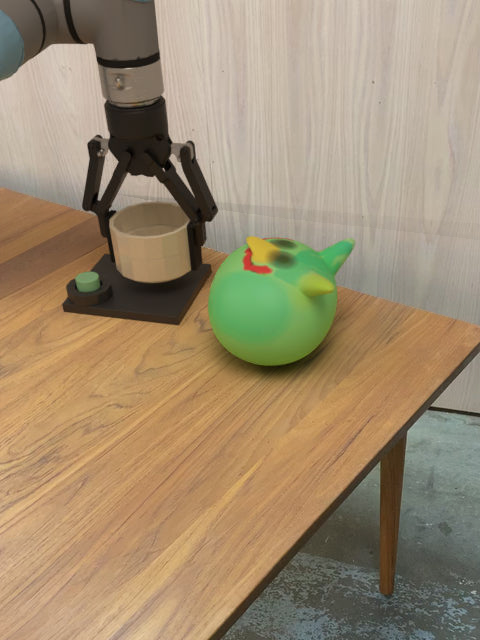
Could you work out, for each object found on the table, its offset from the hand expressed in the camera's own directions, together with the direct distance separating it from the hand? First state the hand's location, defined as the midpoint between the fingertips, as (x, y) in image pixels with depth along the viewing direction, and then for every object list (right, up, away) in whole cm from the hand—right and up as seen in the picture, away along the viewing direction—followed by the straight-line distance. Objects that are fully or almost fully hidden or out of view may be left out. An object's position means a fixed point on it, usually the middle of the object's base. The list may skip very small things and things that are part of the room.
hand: (156, 262), depth 110 cm
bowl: (0, 0, 0) cm, 1 cm away
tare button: (-9, -4, -2) cm, 10 cm away
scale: (-3, -4, +2) cm, 5 cm away
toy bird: (+17, -14, -9) cm, 24 cm away
